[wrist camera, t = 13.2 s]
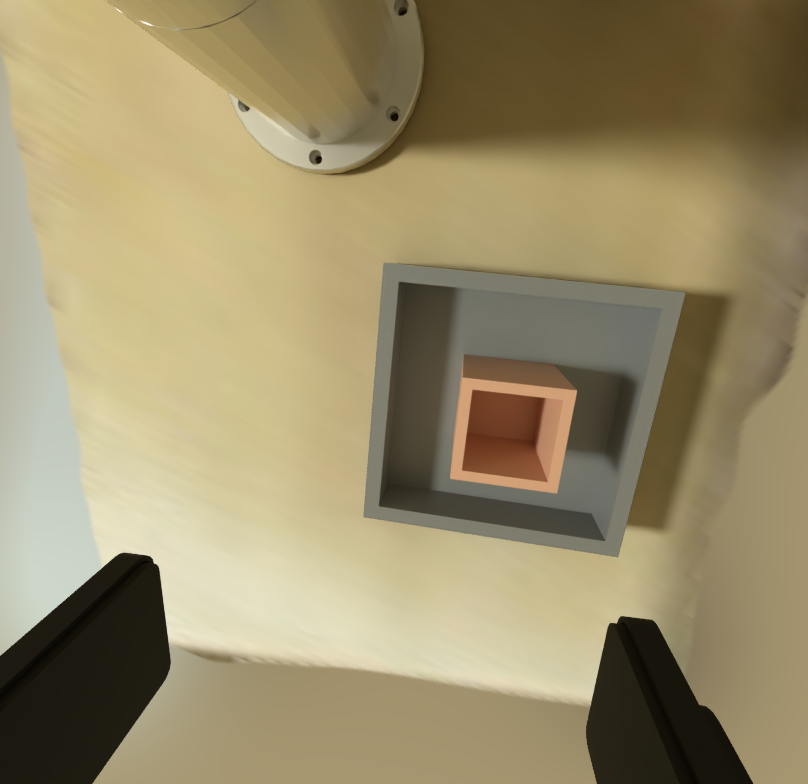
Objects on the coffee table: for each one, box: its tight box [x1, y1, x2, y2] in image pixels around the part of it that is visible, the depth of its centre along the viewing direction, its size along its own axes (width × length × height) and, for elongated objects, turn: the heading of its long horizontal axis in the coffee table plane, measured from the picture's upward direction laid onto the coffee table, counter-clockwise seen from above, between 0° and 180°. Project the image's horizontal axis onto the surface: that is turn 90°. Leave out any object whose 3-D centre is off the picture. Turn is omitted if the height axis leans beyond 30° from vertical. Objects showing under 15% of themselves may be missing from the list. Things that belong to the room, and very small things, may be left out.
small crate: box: [450, 354, 577, 493], centre depth 29 cm, size 6×6×7 cm
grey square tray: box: [364, 263, 686, 557], centre depth 31 cm, size 17×17×4 cm
